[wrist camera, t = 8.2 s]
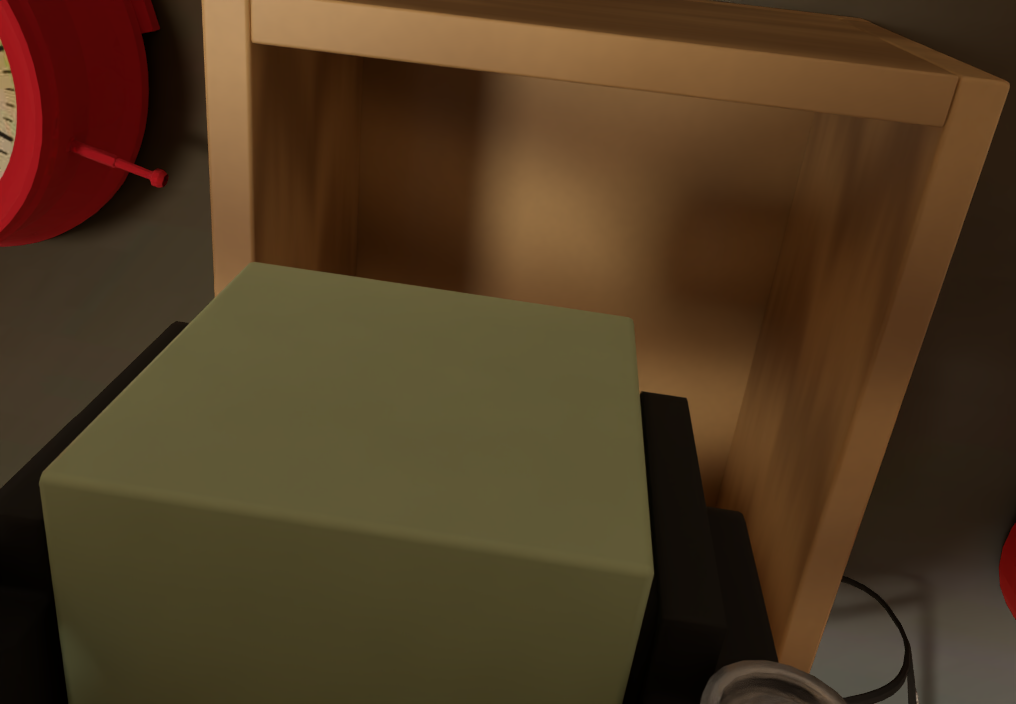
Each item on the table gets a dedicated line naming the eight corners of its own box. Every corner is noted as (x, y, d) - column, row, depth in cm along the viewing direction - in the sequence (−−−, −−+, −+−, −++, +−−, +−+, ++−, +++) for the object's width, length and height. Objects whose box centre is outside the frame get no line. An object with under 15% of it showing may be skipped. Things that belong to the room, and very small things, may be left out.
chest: (341, -44, 22) (199, -16, 14) (863, 18, 22) (1014, 82, 14) (331, 485, 29) (231, 701, 21) (726, 541, 29) (773, 782, 21)
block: (249, 258, 11) (32, 475, 7) (635, 315, 11) (657, 572, 7) (251, 562, 13) (86, 872, 9) (575, 613, 13) (563, 952, 9)
